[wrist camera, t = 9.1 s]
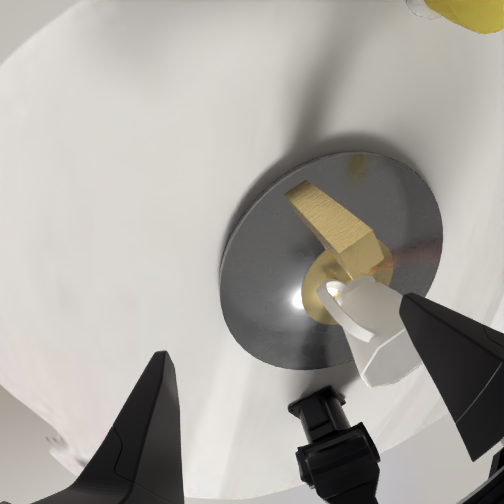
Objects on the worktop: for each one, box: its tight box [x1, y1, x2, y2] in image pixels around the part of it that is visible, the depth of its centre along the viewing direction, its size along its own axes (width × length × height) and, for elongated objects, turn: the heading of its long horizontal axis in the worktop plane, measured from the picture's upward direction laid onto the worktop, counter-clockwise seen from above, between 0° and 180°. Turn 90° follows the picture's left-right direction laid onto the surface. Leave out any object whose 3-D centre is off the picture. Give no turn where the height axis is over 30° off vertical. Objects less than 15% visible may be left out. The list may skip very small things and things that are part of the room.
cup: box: [316, 275, 423, 389], centre depth 21 cm, size 7×10×8 cm
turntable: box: [219, 151, 443, 370], centre depth 21 cm, size 22×22×10 cm
